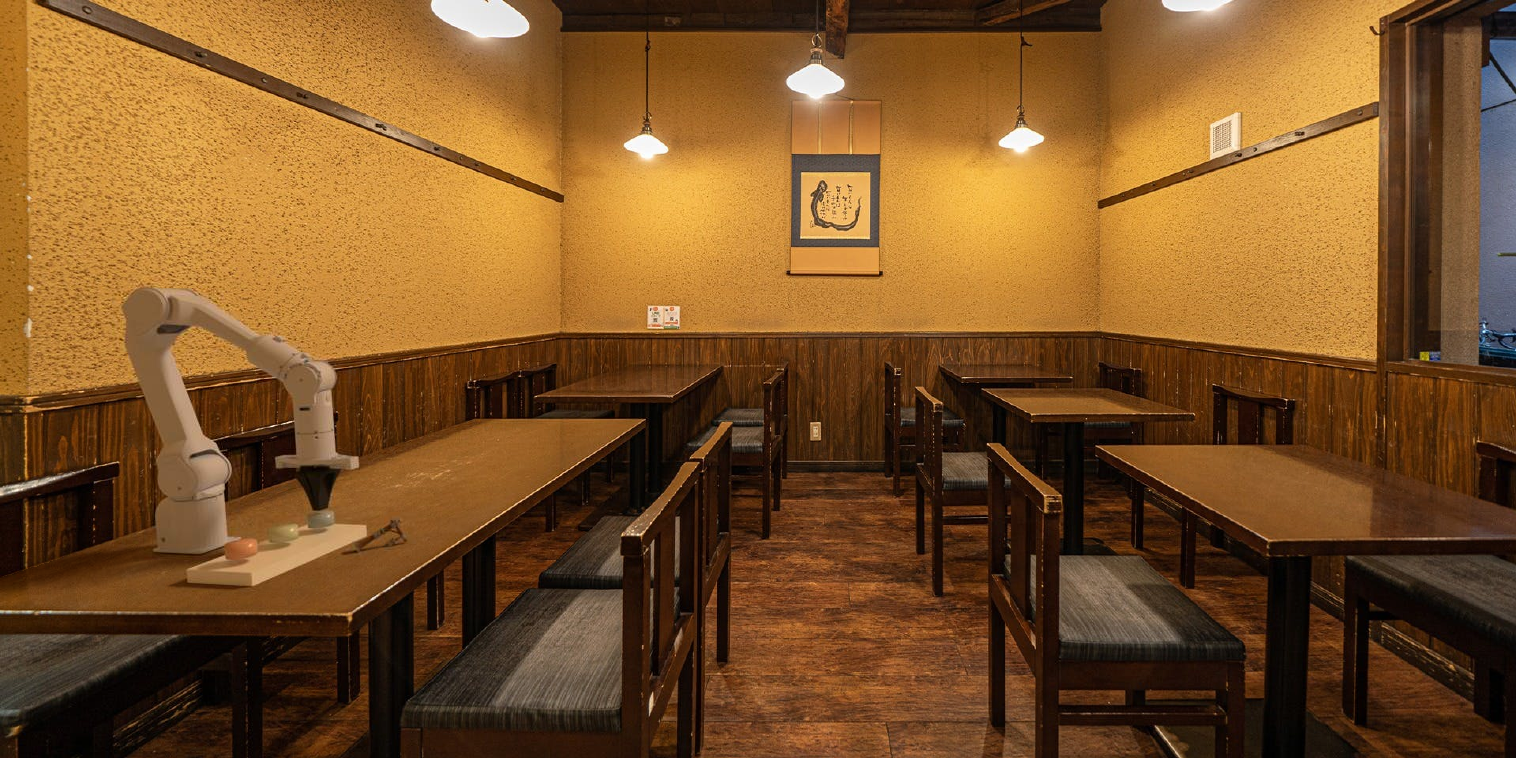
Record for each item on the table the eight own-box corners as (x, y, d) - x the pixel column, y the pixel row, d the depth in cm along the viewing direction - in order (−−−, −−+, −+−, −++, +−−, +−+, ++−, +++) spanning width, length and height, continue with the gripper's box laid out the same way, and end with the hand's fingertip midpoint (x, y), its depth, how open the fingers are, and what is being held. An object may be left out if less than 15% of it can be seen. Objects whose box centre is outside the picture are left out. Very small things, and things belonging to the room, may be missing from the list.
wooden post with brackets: (413, 538, 125) (400, 516, 124) (366, 565, 121) (352, 543, 120) (411, 535, 127) (398, 514, 125) (365, 562, 123) (351, 540, 121)
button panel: (187, 582, 108) (186, 569, 107) (312, 533, 131) (311, 522, 131) (252, 586, 106) (251, 572, 106) (366, 536, 129) (366, 525, 129)
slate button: (302, 528, 124) (301, 516, 124) (319, 521, 128) (319, 510, 128) (322, 528, 124) (322, 517, 124) (340, 522, 128) (339, 510, 127)
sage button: (263, 542, 117) (262, 530, 116) (283, 535, 120) (282, 523, 120) (285, 543, 116) (284, 531, 116) (304, 535, 120) (303, 524, 120)
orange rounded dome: (218, 559, 109) (217, 546, 108) (241, 550, 113) (240, 538, 112) (241, 560, 108) (240, 547, 108) (264, 551, 112) (263, 539, 112)
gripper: (368, 428, 127) (374, 504, 128) (295, 427, 130) (301, 502, 131) (339, 434, 120) (345, 515, 122) (262, 434, 123) (269, 512, 124)
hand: (320, 509), depth 126 cm, fingers closed
